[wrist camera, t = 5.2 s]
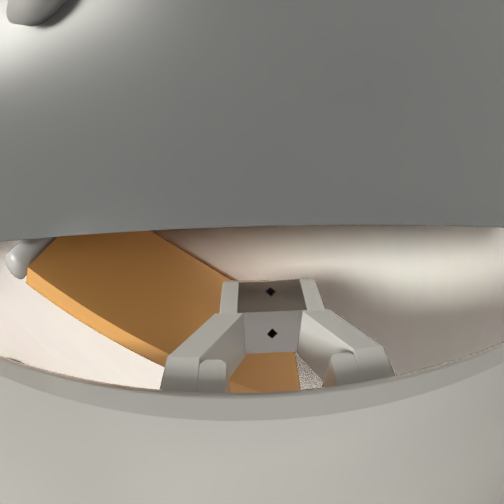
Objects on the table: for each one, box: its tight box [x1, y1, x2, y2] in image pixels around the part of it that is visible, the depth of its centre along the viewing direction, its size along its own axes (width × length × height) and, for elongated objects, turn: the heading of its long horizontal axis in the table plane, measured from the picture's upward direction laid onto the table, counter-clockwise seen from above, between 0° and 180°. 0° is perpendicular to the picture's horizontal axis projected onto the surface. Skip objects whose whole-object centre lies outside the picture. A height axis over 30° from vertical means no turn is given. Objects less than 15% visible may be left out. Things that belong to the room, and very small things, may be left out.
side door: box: [5, 231, 301, 393], centre depth 10 cm, size 11×1×5 cm, turn 53°
